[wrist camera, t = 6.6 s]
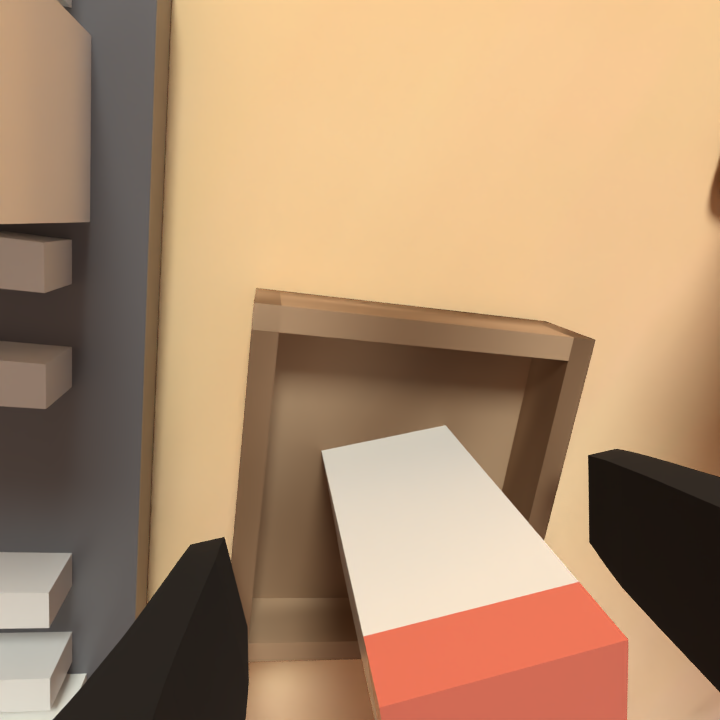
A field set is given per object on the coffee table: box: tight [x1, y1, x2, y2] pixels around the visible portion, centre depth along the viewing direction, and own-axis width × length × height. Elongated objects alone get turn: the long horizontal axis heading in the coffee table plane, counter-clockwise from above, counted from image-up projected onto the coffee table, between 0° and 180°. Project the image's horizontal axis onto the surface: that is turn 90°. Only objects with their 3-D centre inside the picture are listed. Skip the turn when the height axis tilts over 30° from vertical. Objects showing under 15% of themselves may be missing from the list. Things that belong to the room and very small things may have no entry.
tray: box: [231, 288, 595, 662], centre depth 12 cm, size 7×8×2 cm
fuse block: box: [0, 0, 171, 713], centre depth 10 cm, size 5×19×2 cm, turn 173°
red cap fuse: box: [322, 425, 628, 720], centre depth 9 cm, size 3×3×6 cm
